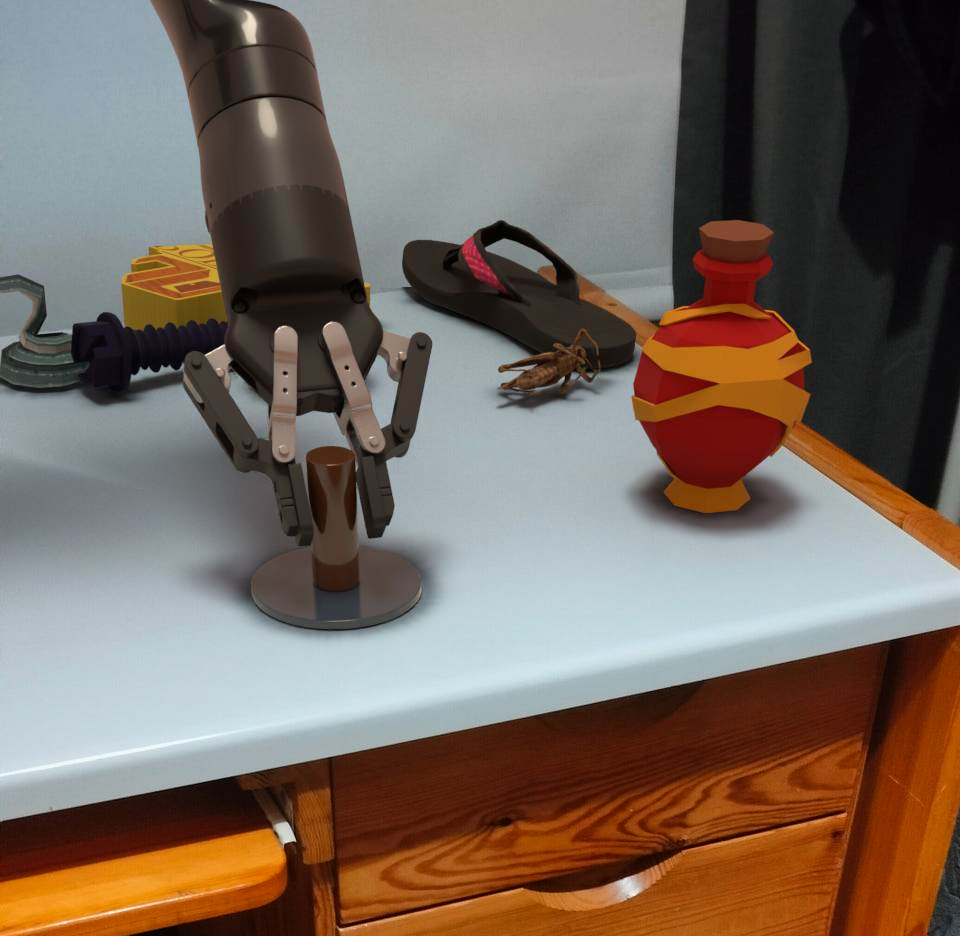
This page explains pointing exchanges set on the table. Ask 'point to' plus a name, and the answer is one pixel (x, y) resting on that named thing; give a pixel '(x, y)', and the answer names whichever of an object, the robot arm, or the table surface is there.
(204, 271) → the decorative sign
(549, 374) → the insect
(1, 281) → the stylized snake
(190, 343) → the screw
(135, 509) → the table surface
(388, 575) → the lid
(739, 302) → the potion bottle
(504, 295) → the sandal
